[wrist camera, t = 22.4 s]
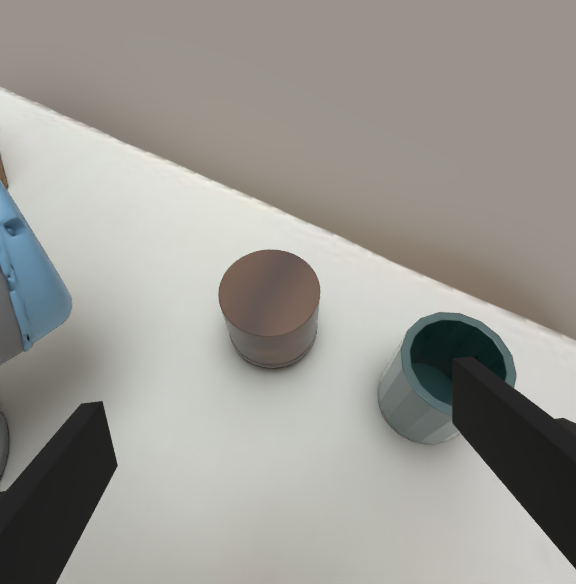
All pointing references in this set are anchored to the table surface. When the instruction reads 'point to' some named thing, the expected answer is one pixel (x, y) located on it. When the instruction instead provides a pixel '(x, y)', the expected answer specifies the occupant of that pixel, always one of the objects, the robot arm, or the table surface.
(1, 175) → the wooden block
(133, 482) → the table surface
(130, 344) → the table surface
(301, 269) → the lid
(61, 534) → the robot arm
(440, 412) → the canister
